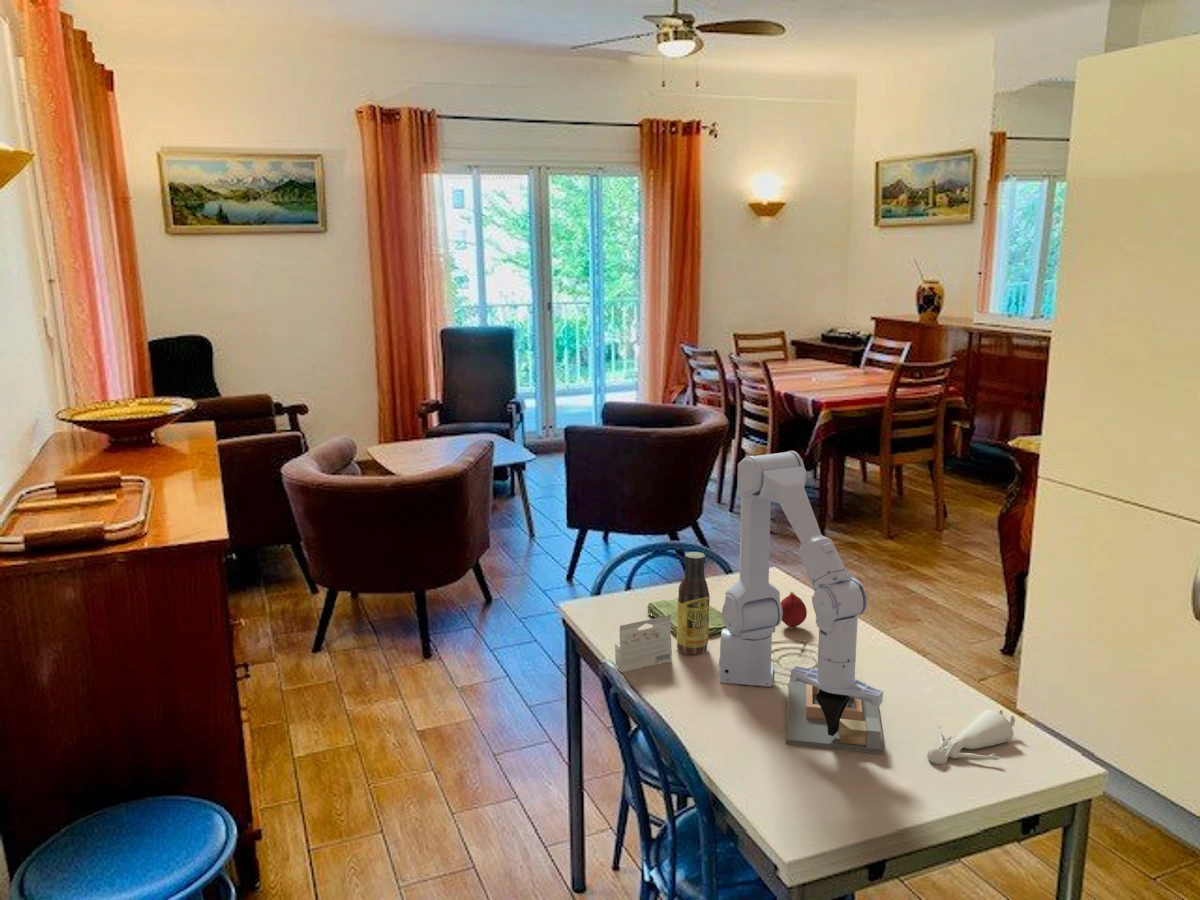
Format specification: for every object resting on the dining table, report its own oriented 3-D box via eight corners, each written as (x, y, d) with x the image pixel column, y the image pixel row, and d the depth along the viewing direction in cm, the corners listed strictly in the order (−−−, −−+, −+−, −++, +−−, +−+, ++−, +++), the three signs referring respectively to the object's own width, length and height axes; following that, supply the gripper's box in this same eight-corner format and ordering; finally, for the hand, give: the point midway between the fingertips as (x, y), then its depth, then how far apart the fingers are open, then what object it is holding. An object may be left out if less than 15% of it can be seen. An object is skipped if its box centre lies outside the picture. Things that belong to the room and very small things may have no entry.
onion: (810, 625, 184) (811, 590, 182) (800, 635, 179) (801, 599, 177) (783, 620, 187) (784, 584, 185) (773, 629, 182) (774, 593, 180)
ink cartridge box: (614, 668, 167) (613, 620, 165) (666, 656, 171) (666, 610, 169) (620, 673, 165) (619, 625, 162) (672, 662, 169) (672, 615, 167)
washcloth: (683, 645, 177) (683, 630, 176) (643, 614, 192) (643, 600, 192) (738, 632, 182) (738, 618, 181) (694, 603, 198) (694, 590, 197)
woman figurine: (1040, 723, 136) (962, 764, 128) (1039, 748, 138) (961, 790, 129) (977, 691, 146) (900, 728, 138) (976, 715, 148) (900, 752, 139)
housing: (786, 743, 140) (786, 722, 139) (789, 684, 159) (789, 665, 158) (884, 754, 137) (885, 732, 136) (875, 692, 156) (876, 672, 155)
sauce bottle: (687, 659, 170) (687, 562, 165) (670, 647, 175) (670, 553, 171) (715, 651, 172) (716, 556, 168) (697, 640, 178) (698, 547, 174)
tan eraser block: (839, 742, 138) (840, 728, 138) (839, 732, 141) (839, 718, 141) (865, 745, 138) (866, 730, 137) (864, 735, 140) (865, 721, 140)
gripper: (891, 657, 135) (886, 736, 138) (804, 634, 144) (801, 709, 147) (875, 674, 130) (870, 756, 133) (785, 649, 139) (783, 727, 142)
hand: (833, 732), depth 140 cm, fingers closed
